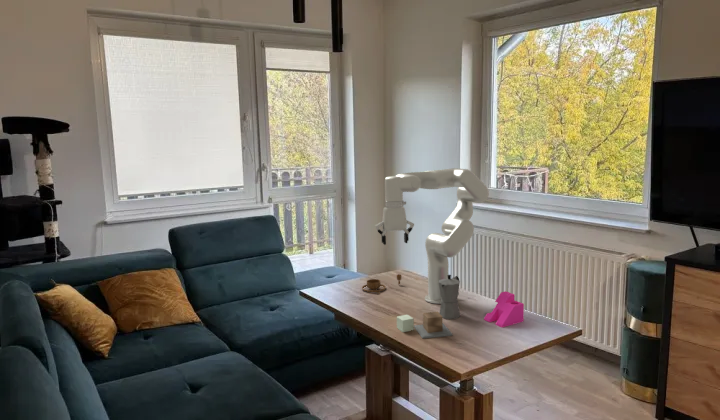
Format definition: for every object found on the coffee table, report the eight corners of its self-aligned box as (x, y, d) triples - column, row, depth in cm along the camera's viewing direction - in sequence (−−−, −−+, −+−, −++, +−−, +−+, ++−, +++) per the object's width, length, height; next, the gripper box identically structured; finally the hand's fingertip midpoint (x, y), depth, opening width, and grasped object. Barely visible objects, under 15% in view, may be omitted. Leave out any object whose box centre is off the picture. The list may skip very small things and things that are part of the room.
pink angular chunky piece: (505, 314, 223) (505, 291, 222) (523, 321, 214) (523, 297, 213) (484, 320, 218) (484, 296, 216) (501, 327, 209) (501, 303, 207)
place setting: (363, 285, 274) (363, 274, 273) (402, 284, 271) (401, 273, 270) (360, 295, 256) (360, 284, 255) (401, 295, 254) (400, 283, 253)
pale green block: (407, 326, 214) (407, 314, 213) (413, 330, 209) (413, 318, 209) (396, 328, 212) (396, 316, 211) (402, 332, 207) (402, 320, 206)
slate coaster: (442, 324, 214) (442, 322, 214) (452, 335, 202) (452, 333, 202) (414, 327, 212) (414, 325, 212) (422, 338, 200) (422, 336, 200)
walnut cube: (437, 325, 211) (437, 311, 210) (442, 331, 205) (442, 316, 204) (423, 327, 210) (423, 312, 209) (427, 332, 204) (427, 318, 203)
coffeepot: (452, 322, 216) (452, 280, 213) (432, 318, 222) (431, 277, 219) (468, 311, 228) (468, 271, 226) (448, 307, 234) (448, 268, 231)
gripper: (411, 202, 231) (412, 240, 234) (372, 204, 228) (374, 243, 231) (415, 204, 224) (416, 243, 226) (376, 207, 221) (377, 246, 223)
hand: (395, 243), depth 229 cm, fingers open, 9 cm apart
